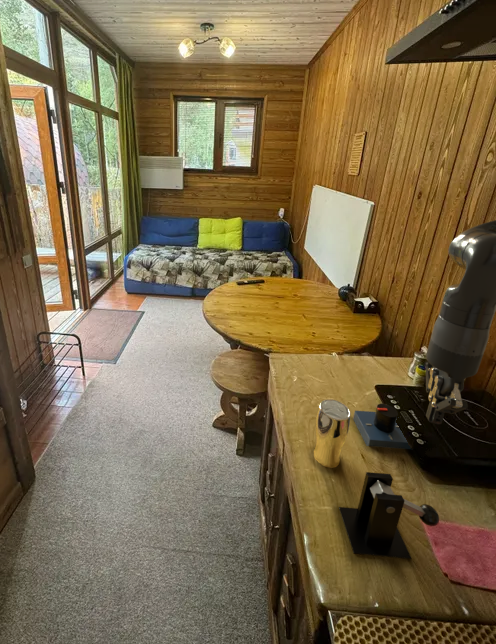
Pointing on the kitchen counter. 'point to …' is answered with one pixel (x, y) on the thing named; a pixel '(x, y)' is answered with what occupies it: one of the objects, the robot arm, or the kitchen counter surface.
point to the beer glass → (331, 431)
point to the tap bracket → (375, 521)
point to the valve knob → (385, 418)
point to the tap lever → (410, 505)
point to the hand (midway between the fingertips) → (433, 420)
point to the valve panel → (378, 432)
